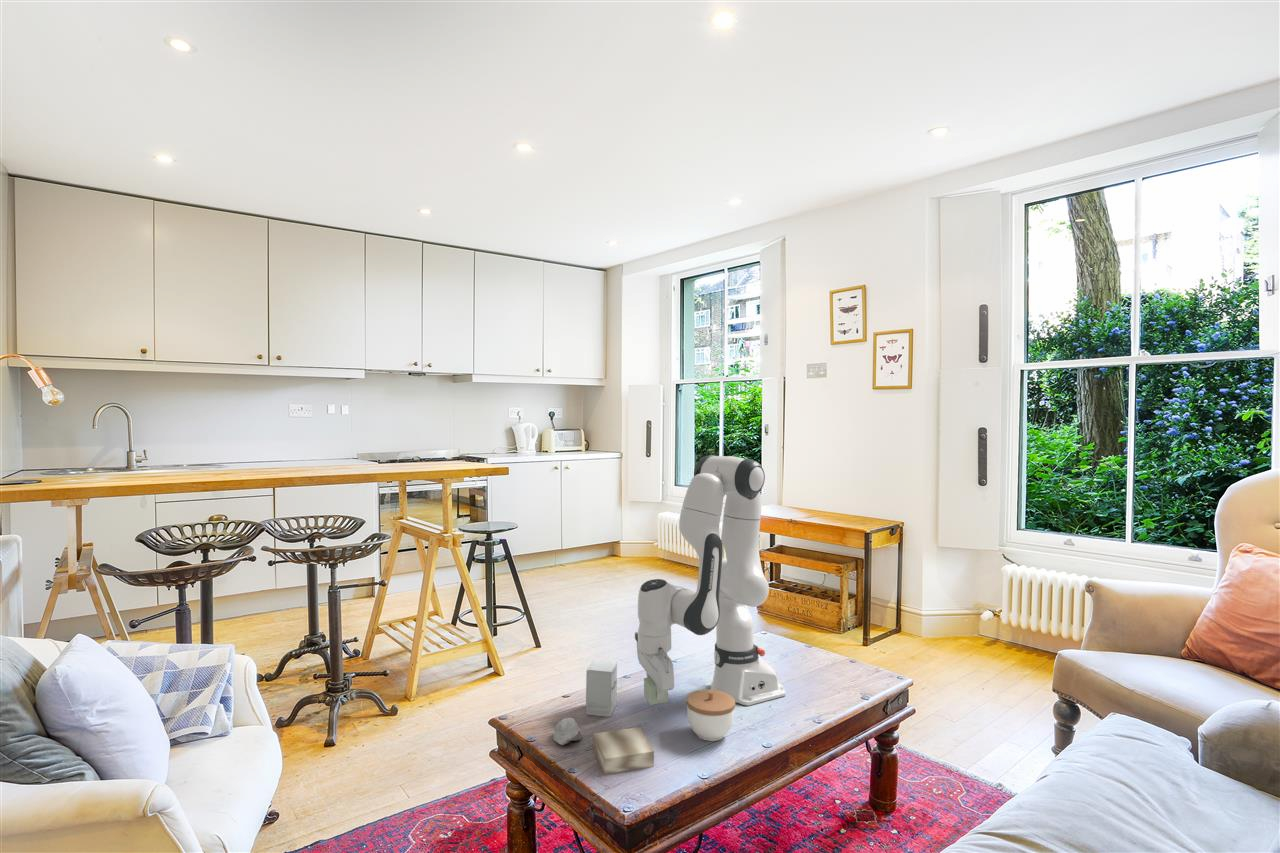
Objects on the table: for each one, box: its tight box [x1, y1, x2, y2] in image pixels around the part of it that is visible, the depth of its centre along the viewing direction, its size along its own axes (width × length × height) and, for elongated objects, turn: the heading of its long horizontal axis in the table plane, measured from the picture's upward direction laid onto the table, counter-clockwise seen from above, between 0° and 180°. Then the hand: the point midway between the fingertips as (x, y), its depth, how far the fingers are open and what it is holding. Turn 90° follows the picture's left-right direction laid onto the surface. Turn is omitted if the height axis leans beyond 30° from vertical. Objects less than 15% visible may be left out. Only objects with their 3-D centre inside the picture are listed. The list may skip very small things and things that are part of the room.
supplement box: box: [585, 660, 618, 718], centre depth 180 cm, size 7×7×13 cm
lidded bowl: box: [686, 689, 736, 742], centre depth 167 cm, size 13×13×11 cm
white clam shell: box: [552, 717, 582, 746], centre depth 164 cm, size 9×8×5 cm
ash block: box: [592, 726, 655, 775], centre depth 156 cm, size 12×12×4 cm
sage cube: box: [643, 677, 669, 705], centre depth 171 cm, size 5×5×5 cm
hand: (655, 692), depth 171 cm, fingers closed on sage cube, 5 cm apart
